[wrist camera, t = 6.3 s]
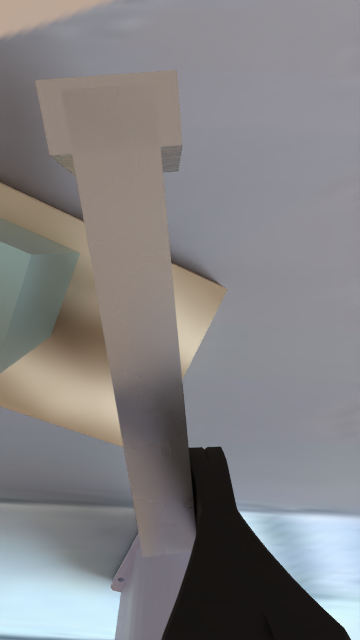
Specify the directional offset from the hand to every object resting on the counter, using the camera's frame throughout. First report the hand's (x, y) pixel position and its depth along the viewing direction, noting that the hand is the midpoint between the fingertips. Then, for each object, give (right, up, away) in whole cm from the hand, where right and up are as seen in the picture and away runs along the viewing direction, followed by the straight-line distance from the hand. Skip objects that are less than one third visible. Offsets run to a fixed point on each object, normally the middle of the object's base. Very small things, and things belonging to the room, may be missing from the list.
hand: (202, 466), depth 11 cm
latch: (-2, +7, +3) cm, 8 cm away
